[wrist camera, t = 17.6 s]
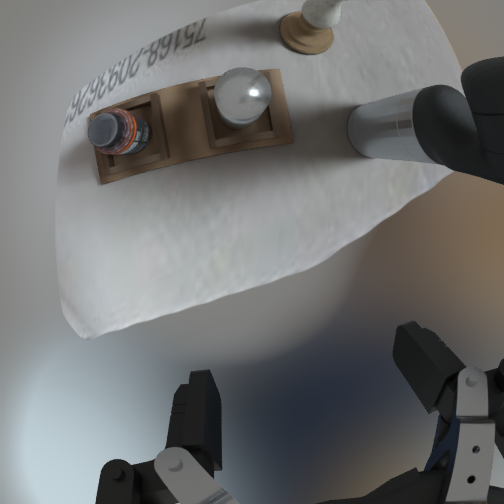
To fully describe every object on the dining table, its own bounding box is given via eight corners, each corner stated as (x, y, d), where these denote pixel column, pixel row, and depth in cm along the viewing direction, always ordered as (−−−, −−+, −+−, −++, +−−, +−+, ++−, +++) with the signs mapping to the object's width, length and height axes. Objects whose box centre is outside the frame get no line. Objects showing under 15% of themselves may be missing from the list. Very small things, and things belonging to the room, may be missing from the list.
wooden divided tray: (278, 70, 34) (281, 64, 31) (291, 142, 38) (296, 141, 35) (92, 115, 33) (83, 113, 31) (104, 183, 37) (96, 186, 35)
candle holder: (269, 36, 32) (299, -38, 13) (296, 6, 30) (335, -64, 10) (316, 64, 34) (377, 10, 15) (340, 33, 32) (402, -21, 13)
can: (256, 88, 34) (265, 64, 24) (263, 126, 36) (276, 114, 26) (214, 95, 34) (209, 72, 24) (222, 133, 36) (219, 123, 26)
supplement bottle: (113, 123, 34) (77, 115, 23) (148, 110, 34) (120, 95, 23) (121, 159, 36) (85, 162, 25) (156, 147, 36) (129, 144, 25)
